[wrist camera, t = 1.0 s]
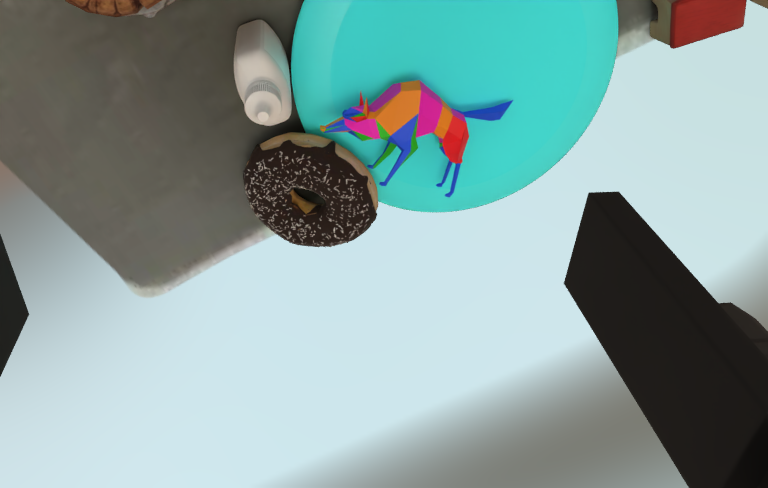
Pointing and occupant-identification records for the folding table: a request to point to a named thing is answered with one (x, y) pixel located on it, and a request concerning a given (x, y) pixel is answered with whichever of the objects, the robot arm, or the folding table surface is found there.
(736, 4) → the dollhouse furniture set
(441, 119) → the figurine
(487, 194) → the frisbee
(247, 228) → the folding table surface
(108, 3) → the mug
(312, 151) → the donut
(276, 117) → the eye dropper bottle
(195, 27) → the folding table surface
